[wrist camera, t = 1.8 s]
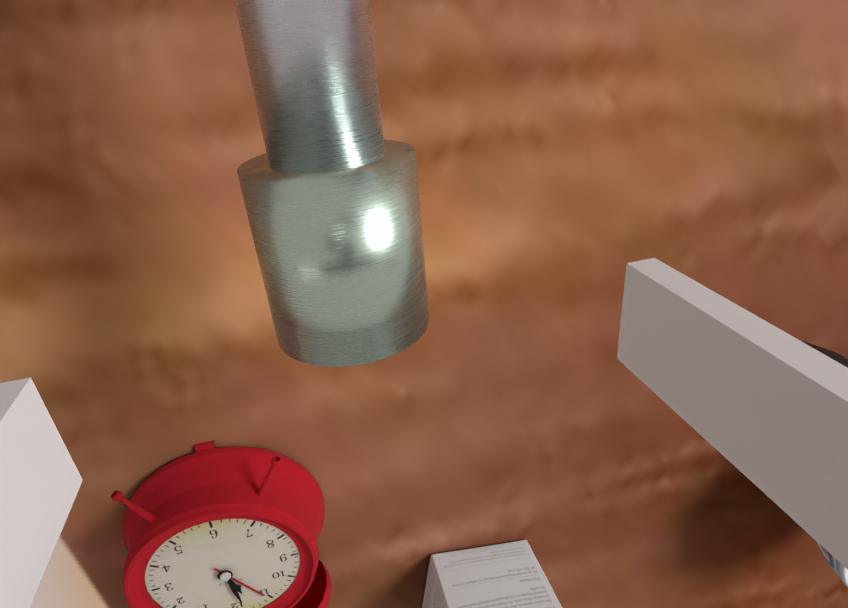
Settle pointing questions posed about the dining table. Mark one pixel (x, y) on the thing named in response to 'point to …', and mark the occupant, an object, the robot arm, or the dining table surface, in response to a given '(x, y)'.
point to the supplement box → (488, 579)
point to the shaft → (330, 187)
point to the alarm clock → (225, 533)
